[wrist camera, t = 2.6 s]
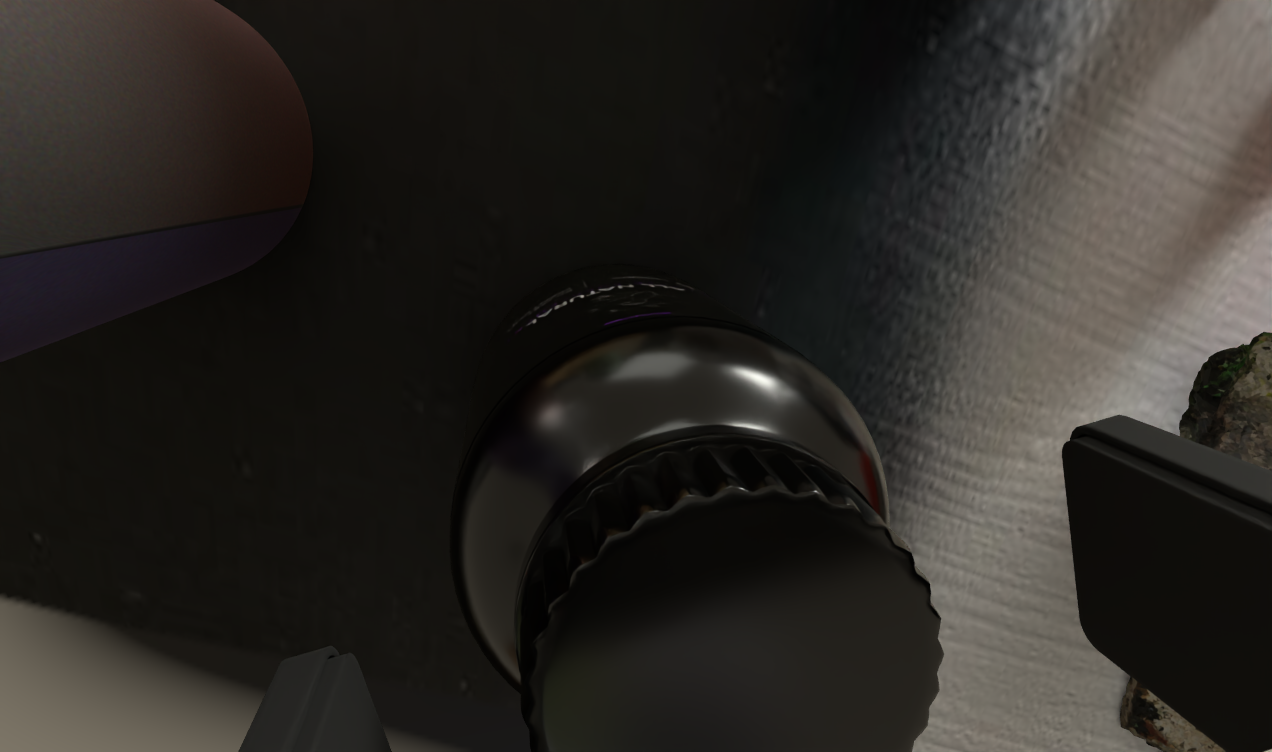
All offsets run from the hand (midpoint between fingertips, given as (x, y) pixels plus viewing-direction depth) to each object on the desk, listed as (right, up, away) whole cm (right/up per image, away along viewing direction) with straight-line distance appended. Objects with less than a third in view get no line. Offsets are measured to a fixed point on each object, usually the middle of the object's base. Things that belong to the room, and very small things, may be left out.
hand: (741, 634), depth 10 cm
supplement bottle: (-2, +3, +10) cm, 11 cm away
